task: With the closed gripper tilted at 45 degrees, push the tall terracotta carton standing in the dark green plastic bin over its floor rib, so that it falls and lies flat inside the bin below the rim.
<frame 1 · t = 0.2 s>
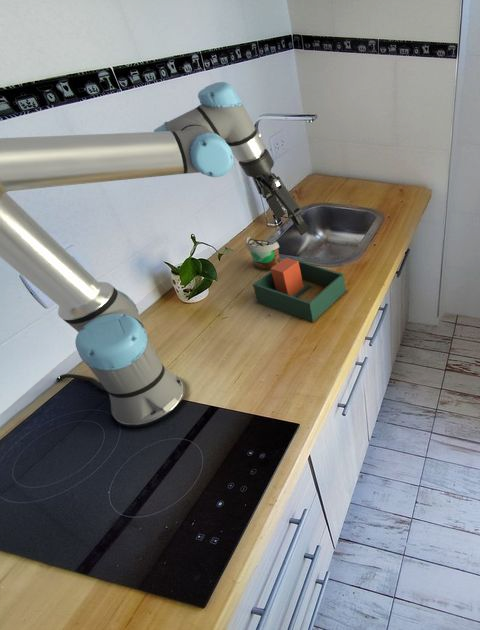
hand: (292, 224, 111), 28 cm above the worktop, tool tilted 20°, fingers open, 13 cm apart
food container: (264, 267, 144), on the worktop
carton: (290, 292, 132), resting in bin
bin: (302, 296, 131), on the worktop
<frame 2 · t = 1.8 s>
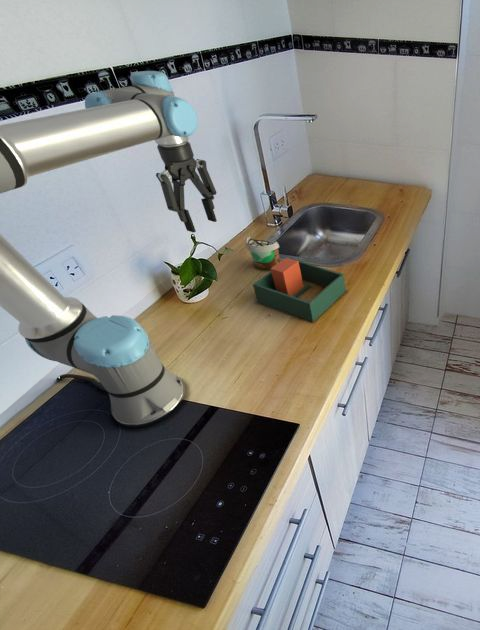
hand: (202, 225, 114), 25 cm above the worktop, tool pointing down, fingers open, 7 cm apart
nothing on the worktop moved.
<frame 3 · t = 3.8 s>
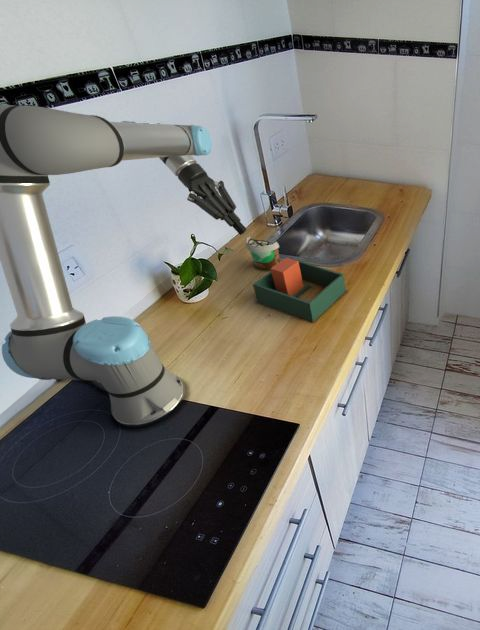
hand: (243, 232, 125), 19 cm above the worktop, tool tilted 45°, fingers closed
nothing on the worktop moved.
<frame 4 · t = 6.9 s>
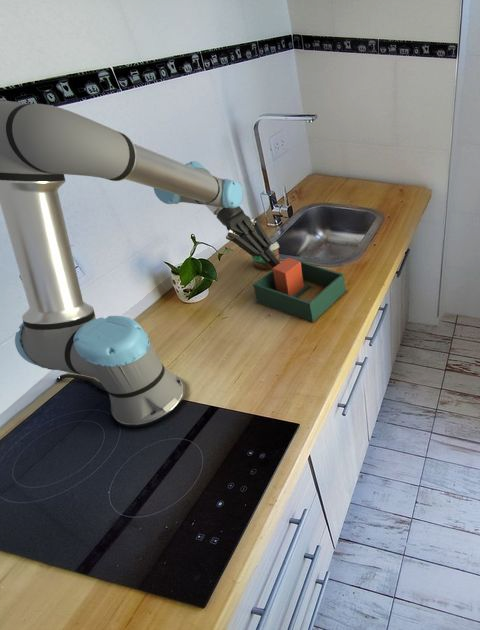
hand: (278, 267, 128), 9 cm above the worktop, tool tilted 45°, fingers closed
carton: (290, 292, 132), resting in bin, touching gripper
everything else where it was.
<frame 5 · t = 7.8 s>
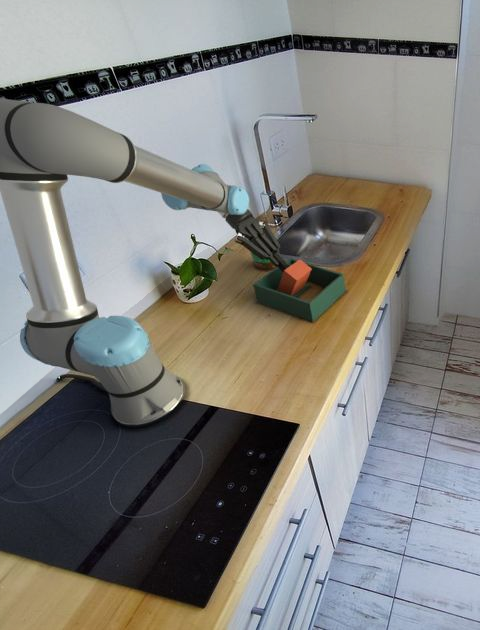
hand: (287, 271, 127), 9 cm above the worktop, tool tilted 45°, fingers closed
carton: (290, 289, 131), point 1 cm above the worktop, tilted 29°, touching bin, gripper
everything else where it was.
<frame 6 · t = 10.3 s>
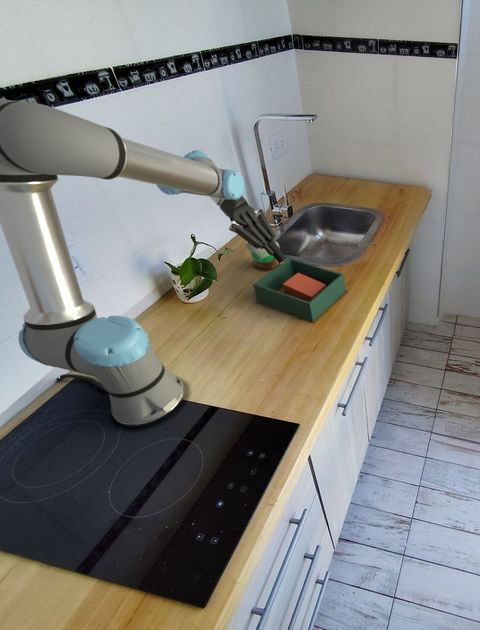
hand: (282, 260, 124), 13 cm above the worktop, tool tilted 45°, fingers closed
carton: (291, 284, 129), point 4 cm above the worktop, tilted 97°, touching bin
everything else where it was.
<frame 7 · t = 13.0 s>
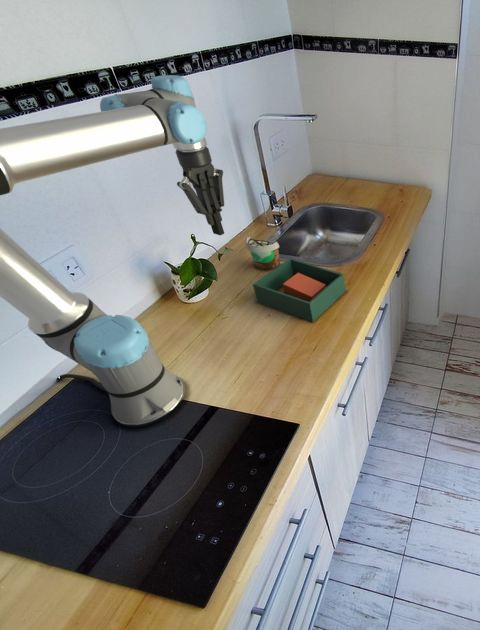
hand: (218, 233, 113), 24 cm above the worktop, tool pointing down, fingers closed
nothing on the worktop moved.
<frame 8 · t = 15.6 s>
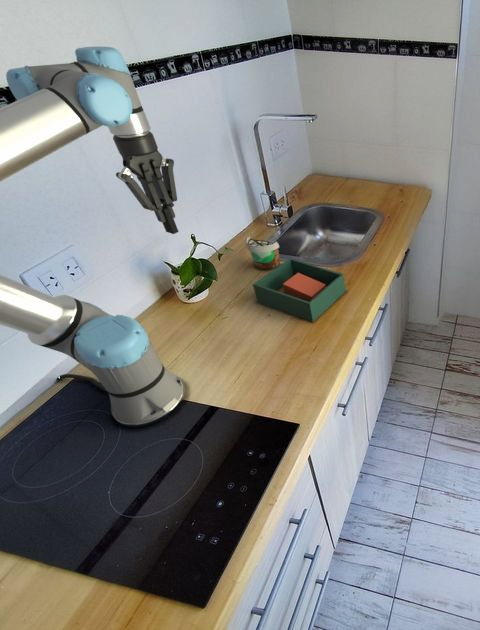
hand: (172, 231, 100), 30 cm above the worktop, tool pointing down, fingers closed
nothing on the worktop moved.
at the end: carton tilted 97°; carton inside the target area on the bin (3.9 cm from its centre), point 3.8 cm above the bin's base; the gripper is holding nothing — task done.
